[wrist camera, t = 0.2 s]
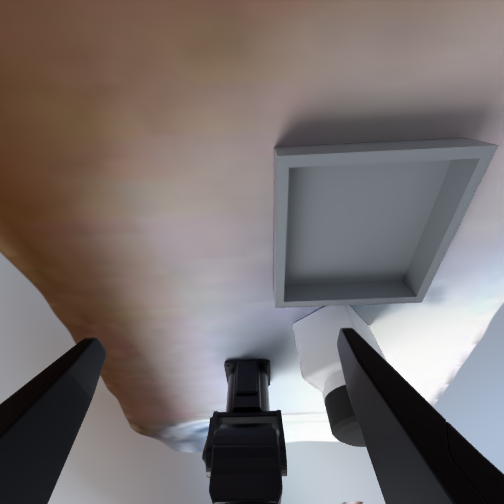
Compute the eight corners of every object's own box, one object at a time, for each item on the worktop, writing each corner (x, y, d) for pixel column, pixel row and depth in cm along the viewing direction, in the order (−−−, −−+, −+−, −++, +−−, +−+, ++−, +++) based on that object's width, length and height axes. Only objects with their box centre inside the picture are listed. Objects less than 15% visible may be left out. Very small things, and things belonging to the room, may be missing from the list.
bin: (405, 282, 26) (421, 302, 24) (273, 287, 27) (275, 307, 24) (464, 137, 18) (498, 145, 16) (273, 147, 19) (277, 156, 16)
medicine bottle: (321, 348, 33) (352, 459, 23) (291, 323, 30) (311, 437, 20) (369, 326, 31) (427, 439, 21) (341, 295, 28) (393, 411, 18)
